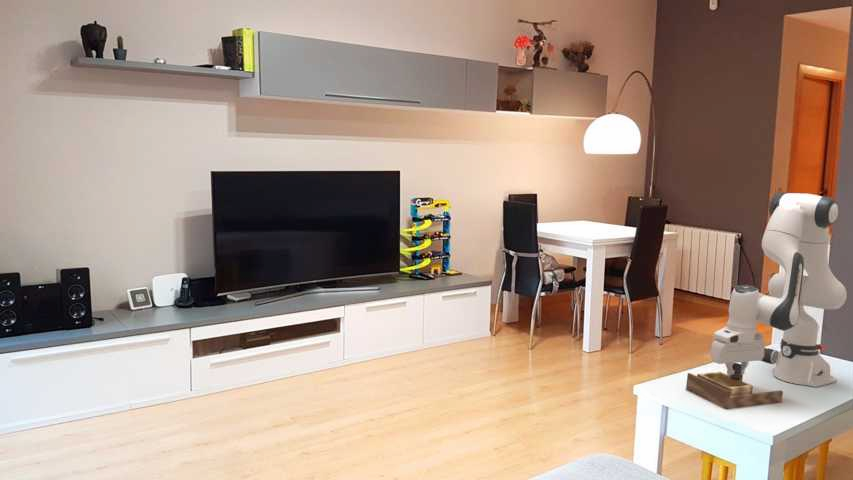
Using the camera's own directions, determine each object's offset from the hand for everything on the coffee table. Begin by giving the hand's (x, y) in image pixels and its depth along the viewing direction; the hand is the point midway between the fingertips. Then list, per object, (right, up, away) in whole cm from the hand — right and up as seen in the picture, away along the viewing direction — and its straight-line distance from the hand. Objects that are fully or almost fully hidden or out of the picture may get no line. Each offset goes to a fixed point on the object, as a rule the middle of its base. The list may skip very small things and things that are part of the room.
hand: (735, 374), depth 236 cm
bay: (0, -9, +1) cm, 9 cm away
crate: (-5, -8, -1) cm, 9 cm away
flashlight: (+31, -4, +51) cm, 60 cm away
